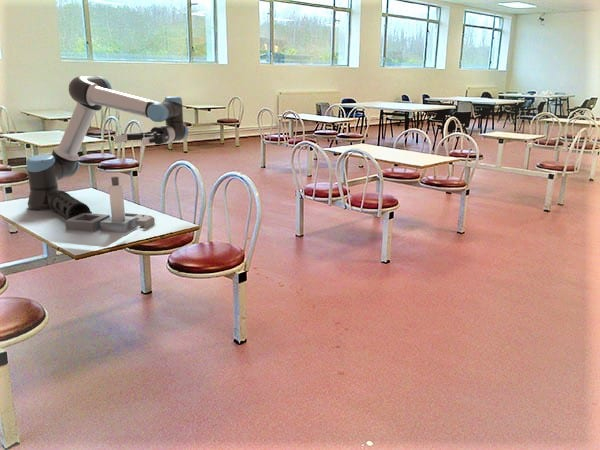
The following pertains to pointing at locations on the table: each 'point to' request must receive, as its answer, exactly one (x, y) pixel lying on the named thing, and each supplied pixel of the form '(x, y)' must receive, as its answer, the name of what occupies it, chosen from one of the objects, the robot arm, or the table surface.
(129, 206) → the table surface
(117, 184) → the white bottle
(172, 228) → the table surface
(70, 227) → the socket block
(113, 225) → the stand
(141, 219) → the handheld gaming device
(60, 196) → the muzzle brake
